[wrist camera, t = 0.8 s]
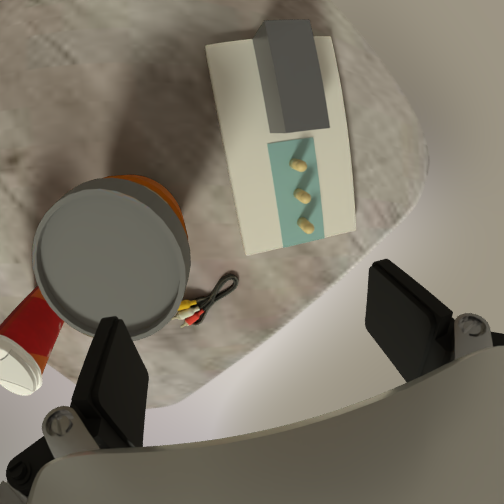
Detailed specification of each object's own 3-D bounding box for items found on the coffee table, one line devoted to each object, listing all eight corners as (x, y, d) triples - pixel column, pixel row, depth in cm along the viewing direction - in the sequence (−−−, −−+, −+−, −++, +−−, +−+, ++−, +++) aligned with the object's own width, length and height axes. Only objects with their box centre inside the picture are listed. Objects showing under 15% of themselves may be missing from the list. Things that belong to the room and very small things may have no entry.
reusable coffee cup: (72, 198, 30) (4, 243, 16) (160, 140, 29) (128, 146, 16) (126, 281, 35) (96, 363, 21) (212, 235, 35) (222, 305, 21)
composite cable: (232, 268, 37) (234, 277, 35) (248, 296, 39) (251, 306, 37) (165, 301, 37) (164, 311, 35) (184, 327, 39) (184, 338, 37)
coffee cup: (41, 326, 35) (2, 395, 21) (21, 278, 32) (-33, 341, 18) (85, 322, 36) (52, 401, 22) (65, 271, 33) (14, 342, 19)
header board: (205, 50, 26) (206, 36, 22) (324, 40, 27) (342, 29, 23) (243, 249, 36) (250, 267, 31) (348, 225, 37) (367, 238, 33)
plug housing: (252, 39, 25) (264, 20, 19) (290, 37, 25) (309, 19, 20) (269, 133, 29) (285, 133, 24) (307, 128, 30) (330, 128, 24)
